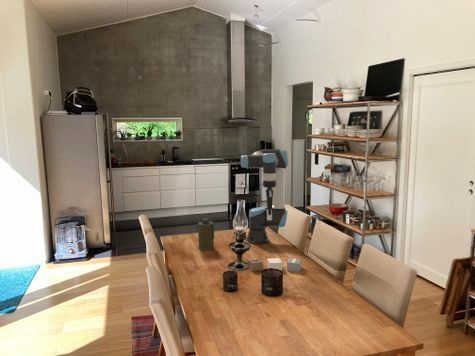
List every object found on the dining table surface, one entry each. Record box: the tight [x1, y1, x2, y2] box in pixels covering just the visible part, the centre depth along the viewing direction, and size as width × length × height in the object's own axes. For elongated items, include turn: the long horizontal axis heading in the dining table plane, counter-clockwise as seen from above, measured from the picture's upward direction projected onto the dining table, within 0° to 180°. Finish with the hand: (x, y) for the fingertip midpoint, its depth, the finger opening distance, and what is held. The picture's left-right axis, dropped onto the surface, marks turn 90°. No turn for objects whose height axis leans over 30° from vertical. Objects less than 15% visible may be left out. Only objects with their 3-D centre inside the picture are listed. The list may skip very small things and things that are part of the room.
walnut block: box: [247, 257, 264, 272], centre depth 219 cm, size 7×7×5 cm
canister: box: [197, 218, 215, 251], centre depth 255 cm, size 11×10×20 cm
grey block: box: [286, 257, 302, 273], centre depth 217 cm, size 7×7×5 cm
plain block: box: [266, 257, 283, 272], centre depth 218 cm, size 7×7×5 cm
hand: (269, 219), depth 224 cm, fingers closed
